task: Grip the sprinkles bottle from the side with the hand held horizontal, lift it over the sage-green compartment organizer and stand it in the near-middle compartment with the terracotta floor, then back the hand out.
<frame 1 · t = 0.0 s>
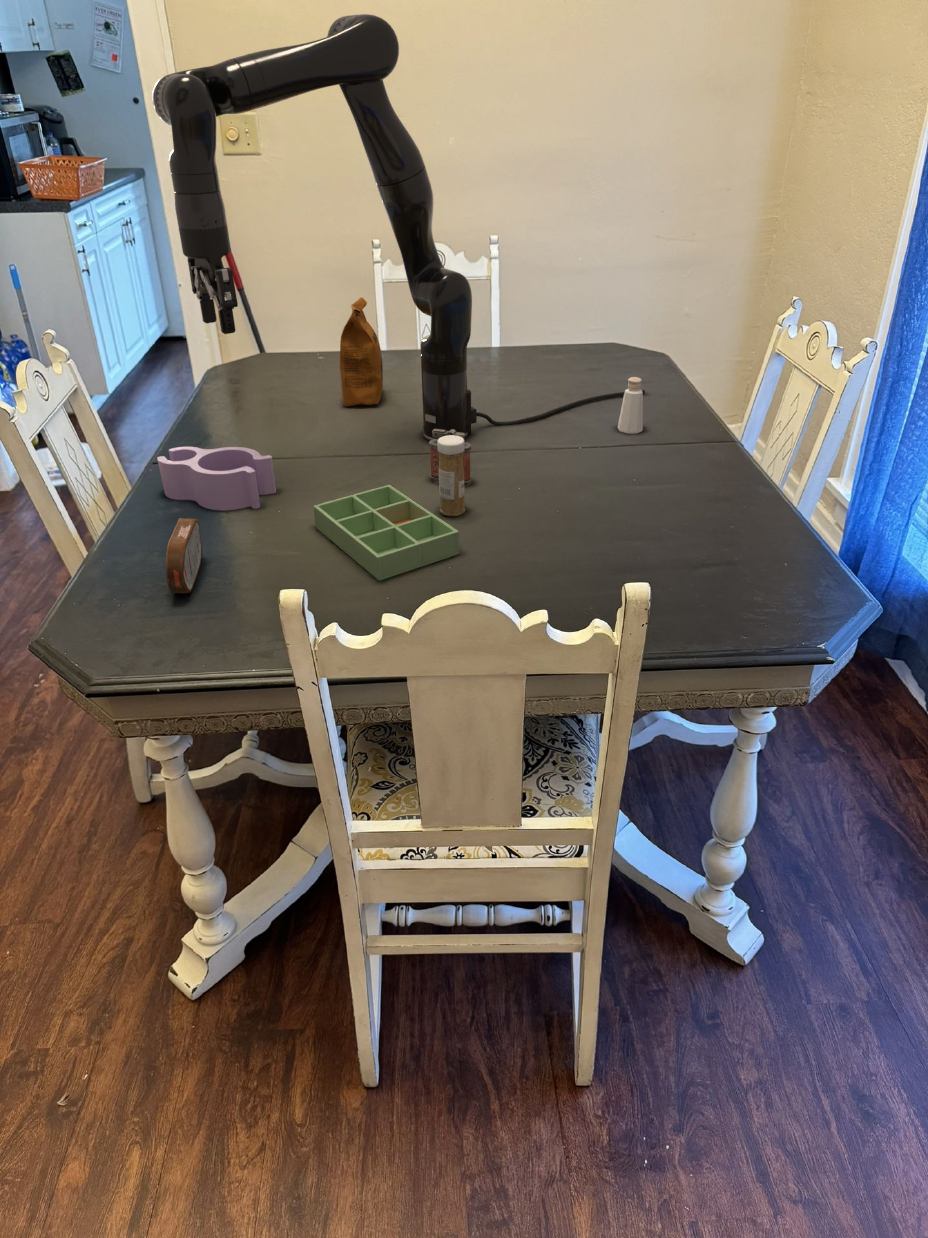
hand: (219, 327, 146), 29 cm above the table, tool pointing down, fingers open, 8 cm apart
sprinkles bottle: (452, 512, 153), on the table
pepper shaker: (629, 430, 185), on the table
tin: (190, 579, 134), on the table
lighter: (450, 482, 164), on the table
clip: (218, 494, 160), on the table
coffee package: (364, 400, 203), on the table
organizer: (385, 540, 144), on the table
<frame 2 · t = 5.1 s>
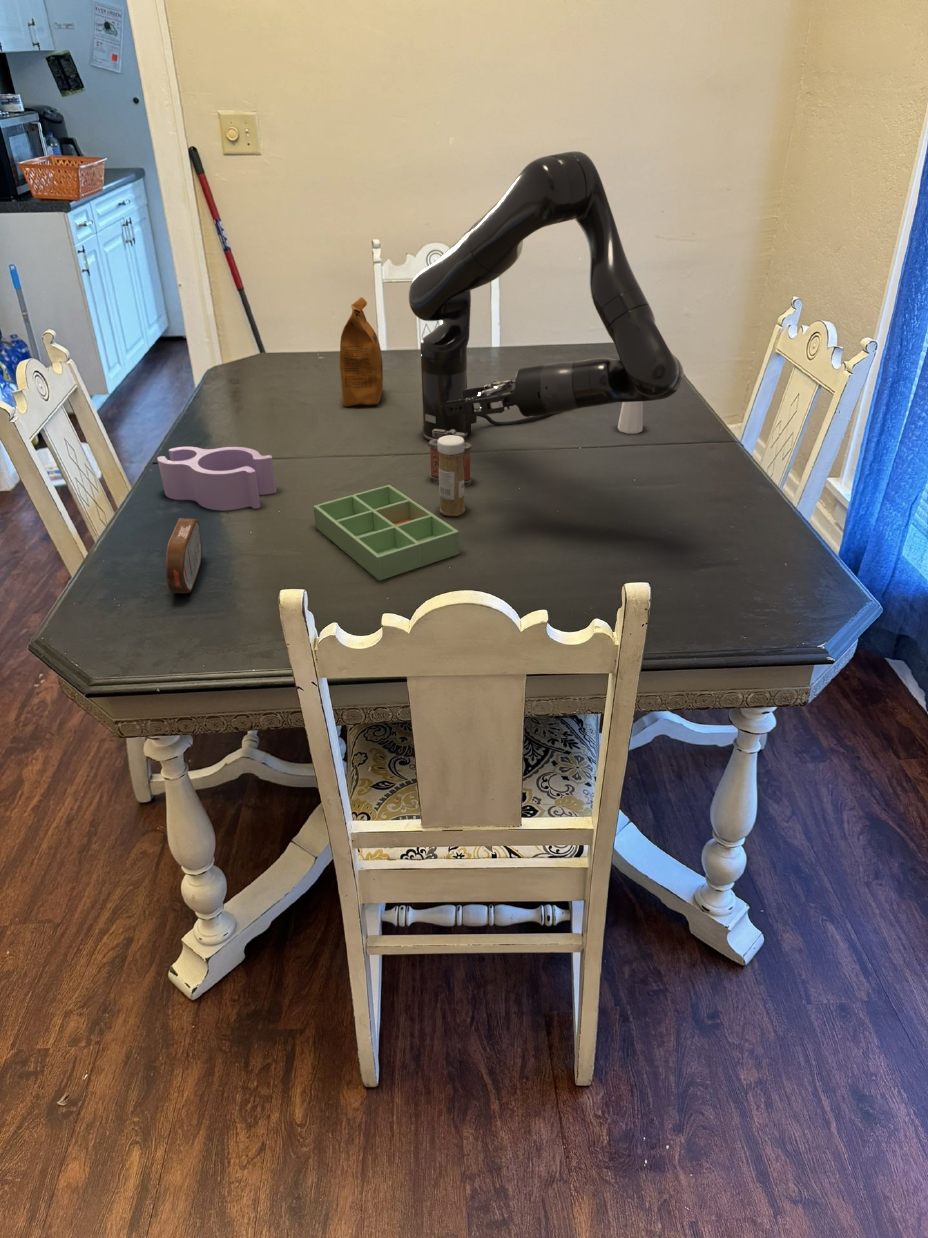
hand: (454, 402, 141), 20 cm above the table, tool horizontal, fingers open, 8 cm apart
nothing on the table moved.
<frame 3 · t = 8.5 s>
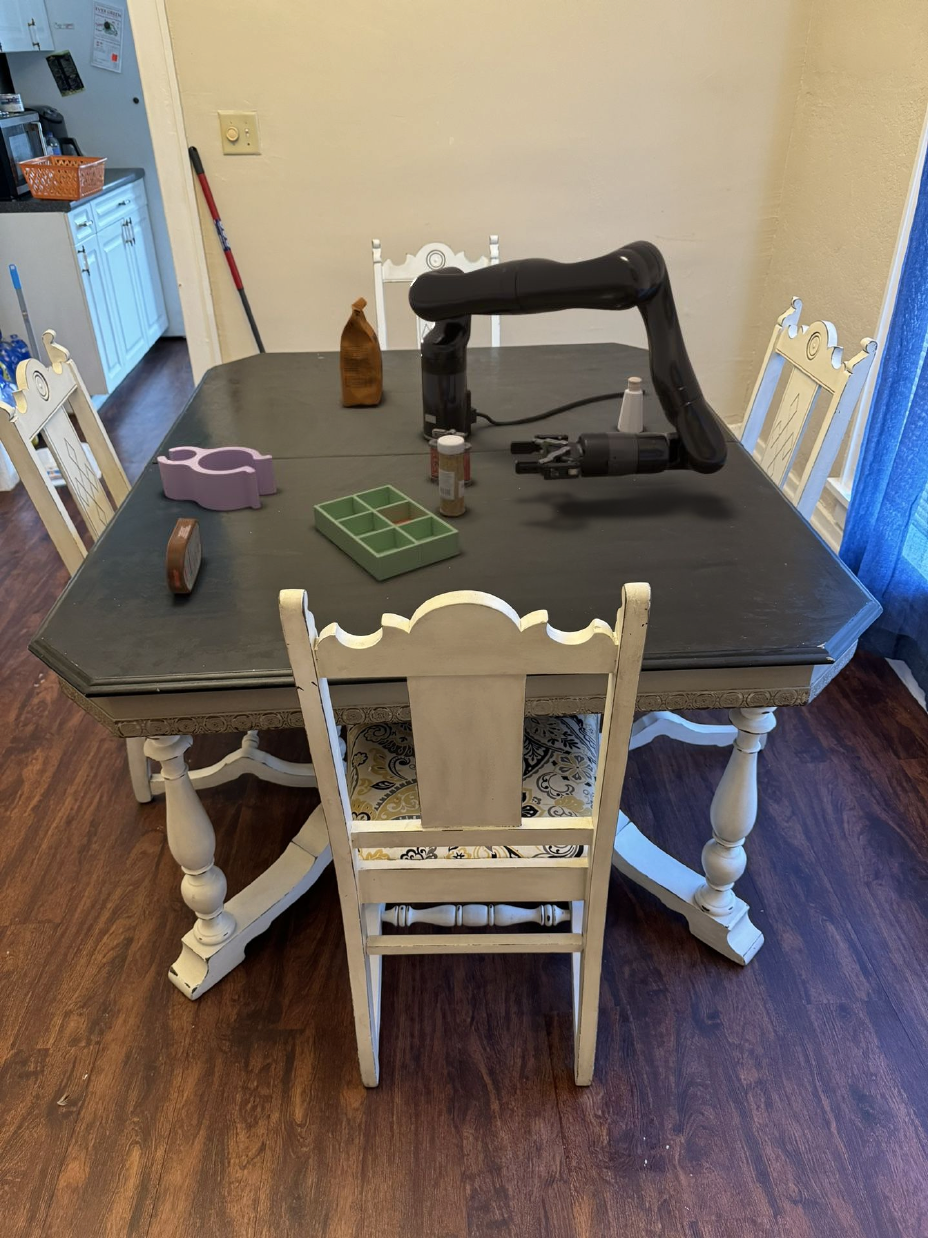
hand: (512, 457, 148), 10 cm above the table, tool horizontal, fingers open, 8 cm apart
nothing on the table moved.
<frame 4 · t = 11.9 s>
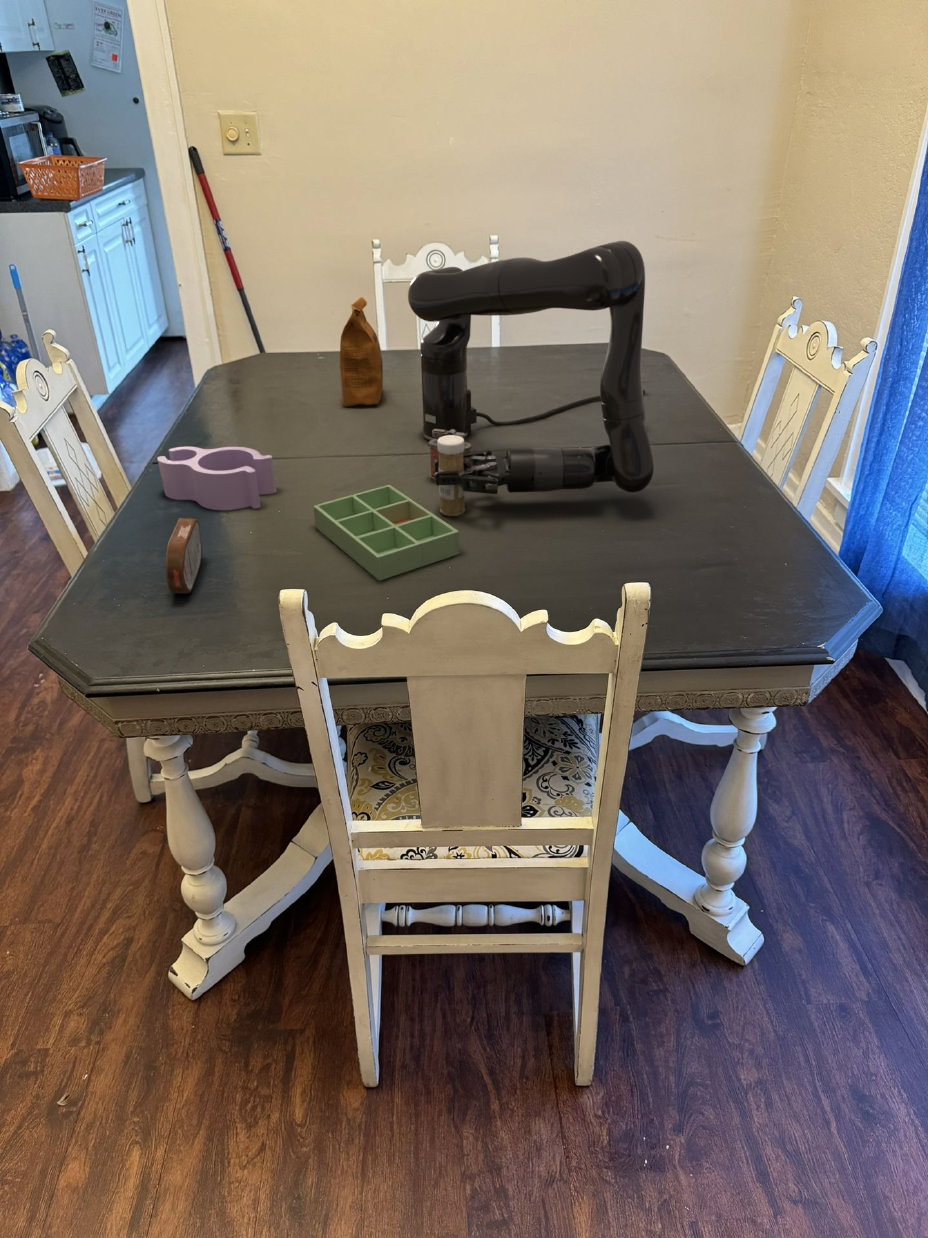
hand: (435, 472, 149), 8 cm above the table, tool horizontal, fingers closed on sprinkles bottle, 4 cm apart
sprinkles bottle: (452, 512, 153), on the table, touching gripper
everything else where it was.
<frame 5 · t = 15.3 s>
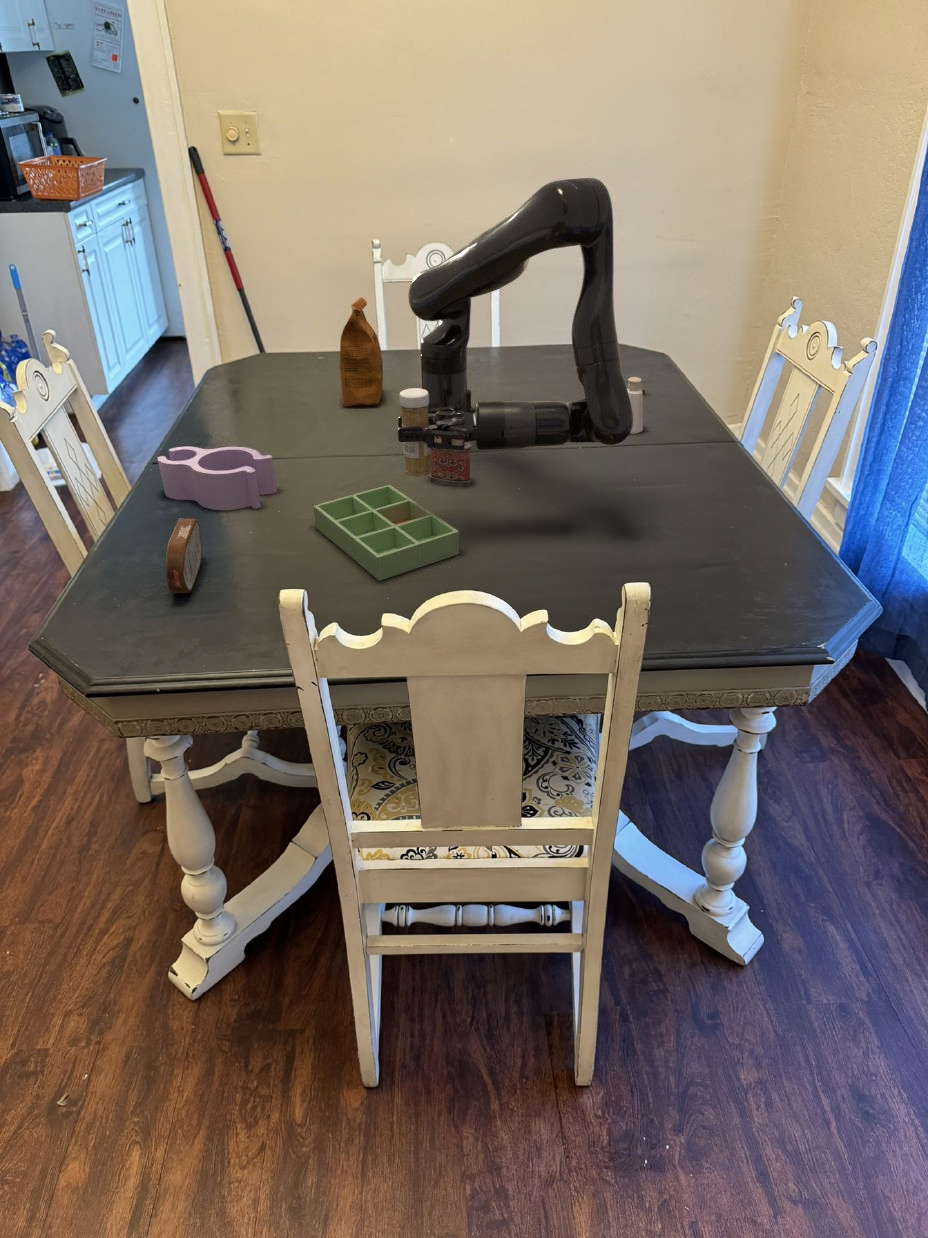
hand: (398, 428, 138), 18 cm above the table, tool horizontal, fingers closed on sprinkles bottle, 4 cm apart
sprinkles bottle: (418, 473, 142), point 10 cm above the table, touching gripper
everything else where it was.
when the fingers open (8 cm above the table, at t = 18.7 s): sprinkles bottle stays where it is, resting on organizer.
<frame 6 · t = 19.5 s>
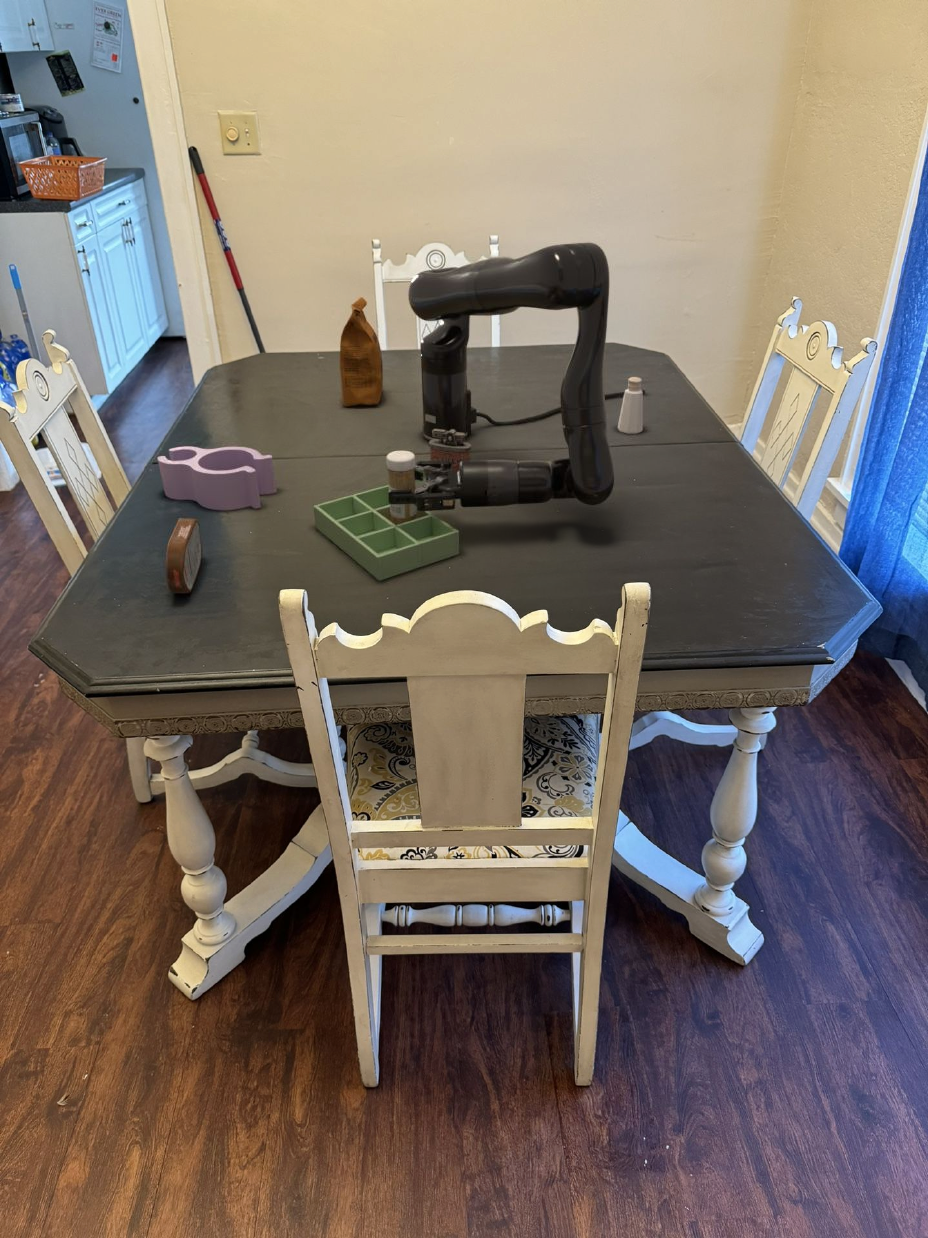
hand: (389, 486, 141), 9 cm above the table, tool horizontal, fingers open, 8 cm apart
sprinkles bottle: (404, 531, 145), point 1 cm above the table, touching organizer
everything else where it was.
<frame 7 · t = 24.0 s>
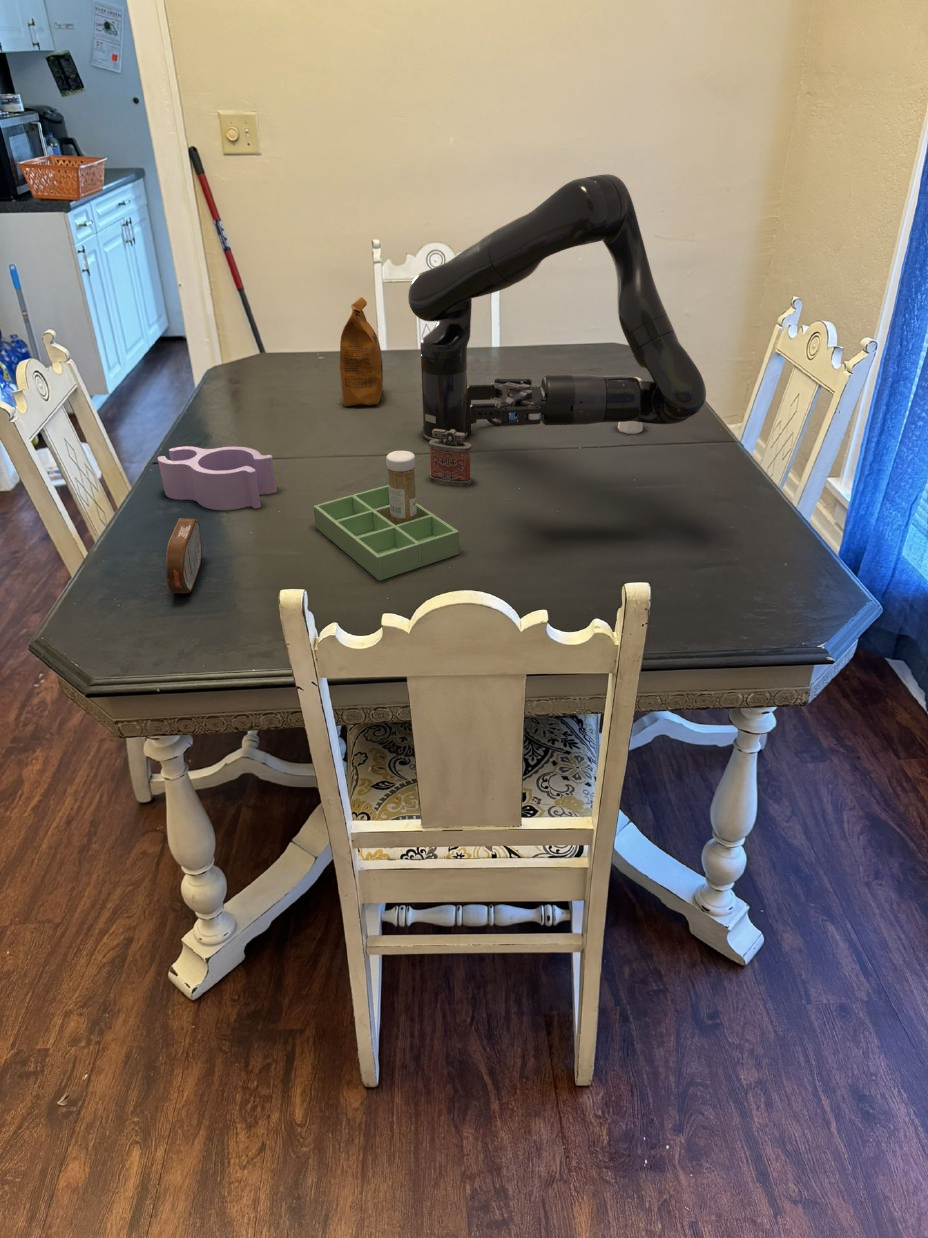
hand: (468, 401, 134), 23 cm above the table, tool horizontal, fingers open, 8 cm apart
nothing on the table moved.
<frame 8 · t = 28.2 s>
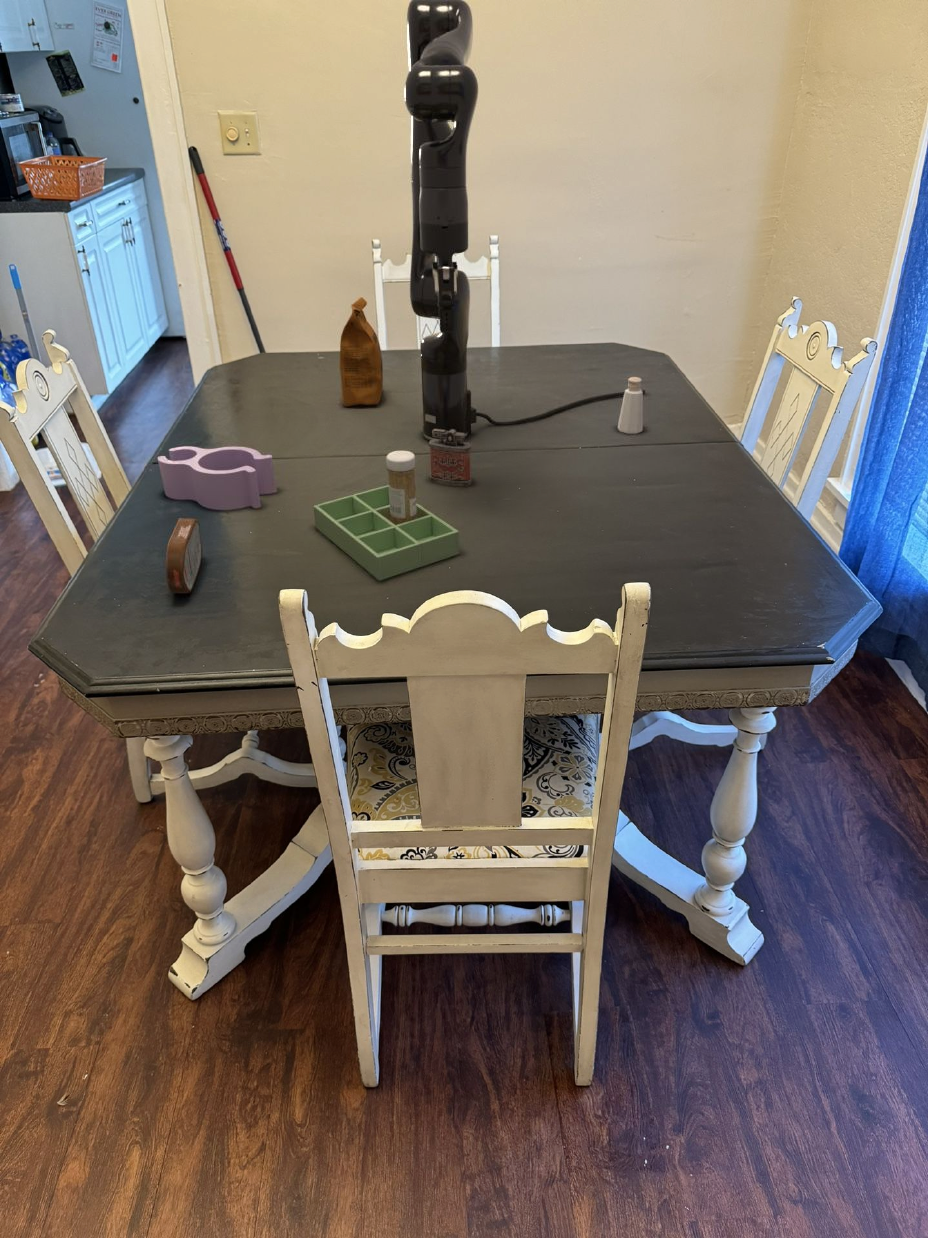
hand: (445, 324, 143), 30 cm above the table, tool pointing down, fingers open, 8 cm apart
nothing on the table moved.
at the end: sprinkles bottle 0.2 cm from the target spot in the organizer, point 0.6 cm above the organizer's base; sprinkles bottle tilted 0°; the gripper is holding nothing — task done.
